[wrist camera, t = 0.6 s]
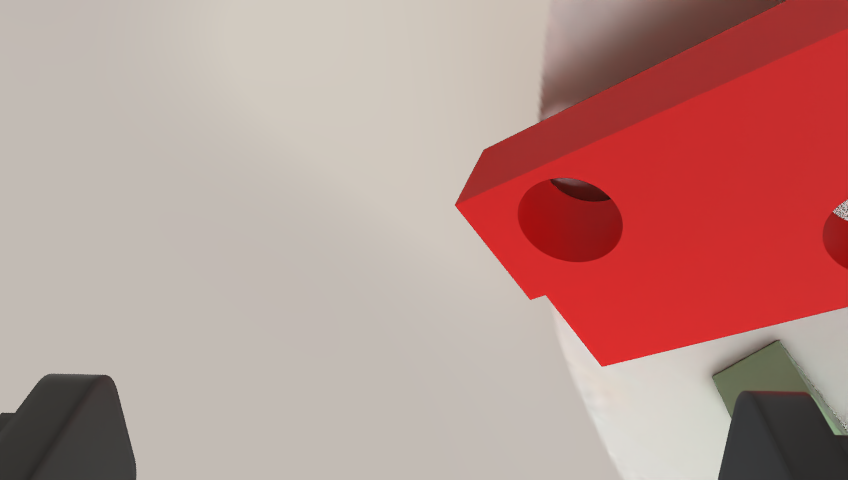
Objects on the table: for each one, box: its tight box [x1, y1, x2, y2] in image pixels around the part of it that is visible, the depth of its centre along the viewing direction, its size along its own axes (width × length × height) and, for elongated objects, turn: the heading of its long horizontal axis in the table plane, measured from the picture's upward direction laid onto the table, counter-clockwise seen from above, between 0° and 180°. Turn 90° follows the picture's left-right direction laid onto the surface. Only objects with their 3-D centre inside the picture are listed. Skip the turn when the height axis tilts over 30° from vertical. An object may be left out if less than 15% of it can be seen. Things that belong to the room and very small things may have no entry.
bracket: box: [455, 0, 848, 367], centre depth 29 cm, size 18×10×10 cm, turn 127°
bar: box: [713, 341, 848, 435], centre depth 38 cm, size 14×4×4 cm, turn 40°
